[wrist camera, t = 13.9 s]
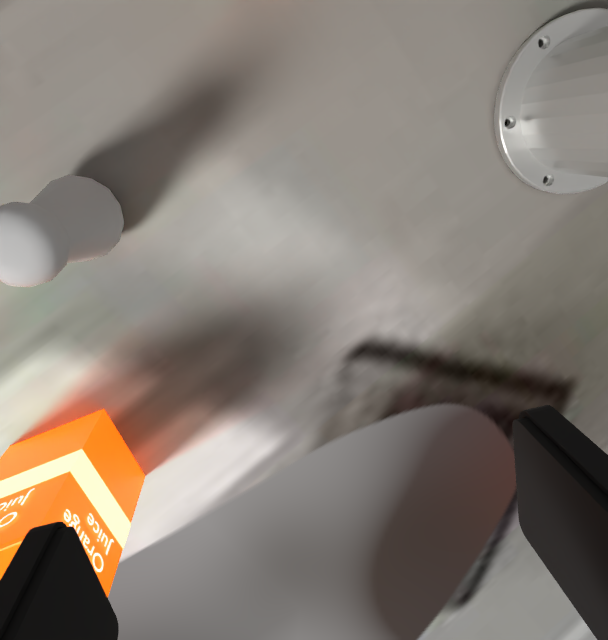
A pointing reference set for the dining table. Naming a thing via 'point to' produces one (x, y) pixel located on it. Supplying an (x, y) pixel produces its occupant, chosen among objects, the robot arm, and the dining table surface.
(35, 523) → the orange juice
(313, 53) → the dining table surface
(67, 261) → the salt shaker
